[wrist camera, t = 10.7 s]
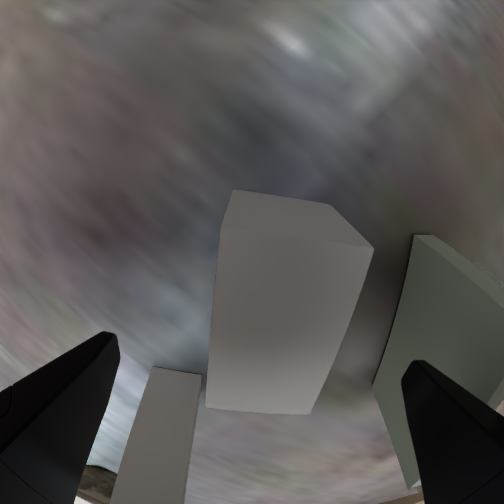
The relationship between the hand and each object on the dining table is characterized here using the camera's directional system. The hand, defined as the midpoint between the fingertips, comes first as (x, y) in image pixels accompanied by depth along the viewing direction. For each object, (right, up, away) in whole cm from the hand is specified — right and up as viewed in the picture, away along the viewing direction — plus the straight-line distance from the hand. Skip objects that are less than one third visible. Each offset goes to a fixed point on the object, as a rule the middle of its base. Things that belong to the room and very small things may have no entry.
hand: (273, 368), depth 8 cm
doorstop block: (0, +2, +5) cm, 6 cm away
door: (+8, -1, +6) cm, 10 cm away
